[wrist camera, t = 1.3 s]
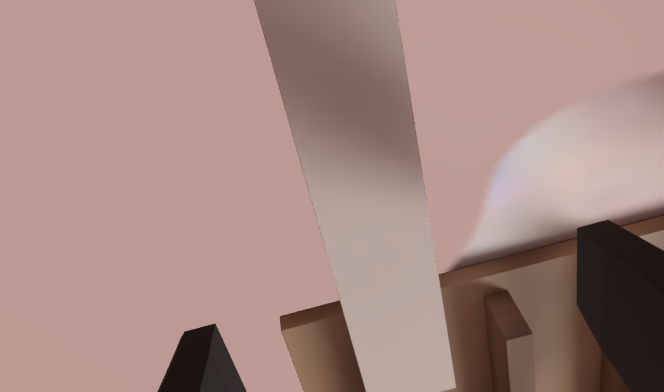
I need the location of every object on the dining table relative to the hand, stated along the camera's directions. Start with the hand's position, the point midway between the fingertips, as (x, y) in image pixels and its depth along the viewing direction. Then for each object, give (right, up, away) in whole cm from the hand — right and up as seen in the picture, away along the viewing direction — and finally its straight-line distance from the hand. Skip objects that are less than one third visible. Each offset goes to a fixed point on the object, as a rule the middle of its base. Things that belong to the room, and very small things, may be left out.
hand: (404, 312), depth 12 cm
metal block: (-1, +5, +8) cm, 10 cm away
